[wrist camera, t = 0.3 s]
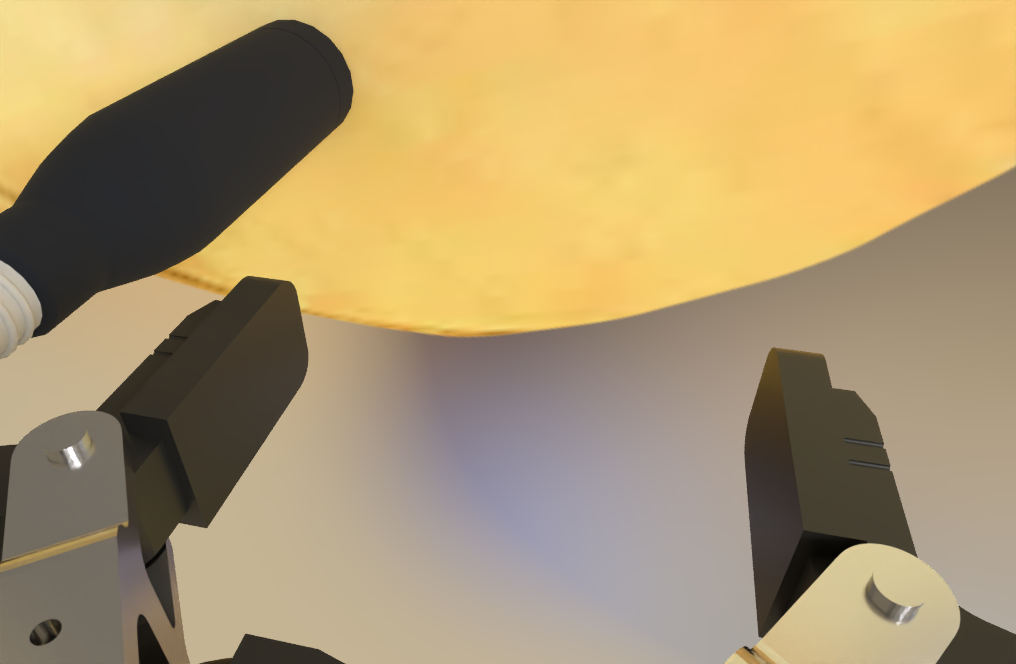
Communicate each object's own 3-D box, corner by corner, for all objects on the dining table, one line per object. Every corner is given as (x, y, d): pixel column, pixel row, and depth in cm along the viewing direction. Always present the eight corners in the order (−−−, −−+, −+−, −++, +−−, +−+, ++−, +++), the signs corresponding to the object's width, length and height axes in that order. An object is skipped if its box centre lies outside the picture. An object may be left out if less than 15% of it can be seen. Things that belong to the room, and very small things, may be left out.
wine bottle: (332, 9, 38) (-272, 356, 14) (368, 128, 41) (-66, 565, 18) (227, 28, 39) (-467, 364, 16) (270, 140, 43) (-244, 553, 19)
